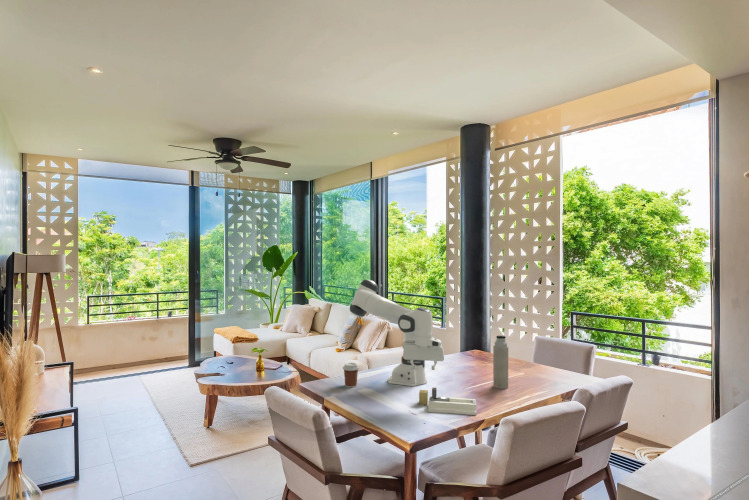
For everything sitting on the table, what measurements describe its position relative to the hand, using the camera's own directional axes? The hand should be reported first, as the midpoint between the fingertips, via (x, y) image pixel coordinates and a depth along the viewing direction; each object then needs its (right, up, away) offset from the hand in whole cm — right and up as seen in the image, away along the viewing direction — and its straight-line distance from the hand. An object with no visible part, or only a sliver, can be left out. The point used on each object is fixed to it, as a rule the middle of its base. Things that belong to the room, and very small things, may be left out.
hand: (423, 369), depth 217 cm
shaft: (+7, -15, -7) cm, 18 cm away
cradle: (+13, -17, -8) cm, 22 cm away
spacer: (0, -17, 0) cm, 17 cm away
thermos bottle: (+46, -17, +28) cm, 56 cm away
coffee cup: (-37, -17, +28) cm, 50 cm away
